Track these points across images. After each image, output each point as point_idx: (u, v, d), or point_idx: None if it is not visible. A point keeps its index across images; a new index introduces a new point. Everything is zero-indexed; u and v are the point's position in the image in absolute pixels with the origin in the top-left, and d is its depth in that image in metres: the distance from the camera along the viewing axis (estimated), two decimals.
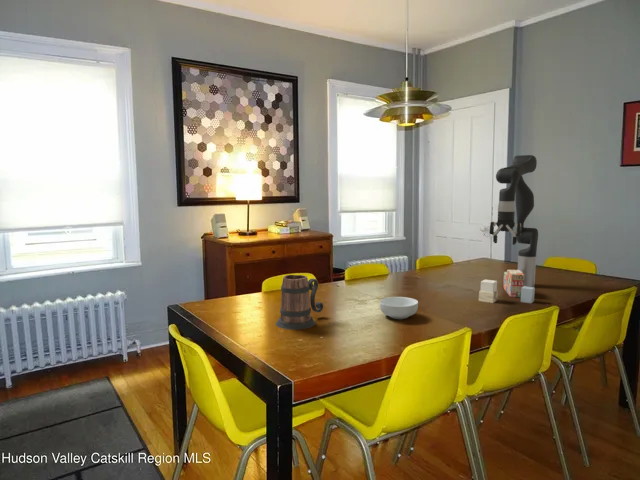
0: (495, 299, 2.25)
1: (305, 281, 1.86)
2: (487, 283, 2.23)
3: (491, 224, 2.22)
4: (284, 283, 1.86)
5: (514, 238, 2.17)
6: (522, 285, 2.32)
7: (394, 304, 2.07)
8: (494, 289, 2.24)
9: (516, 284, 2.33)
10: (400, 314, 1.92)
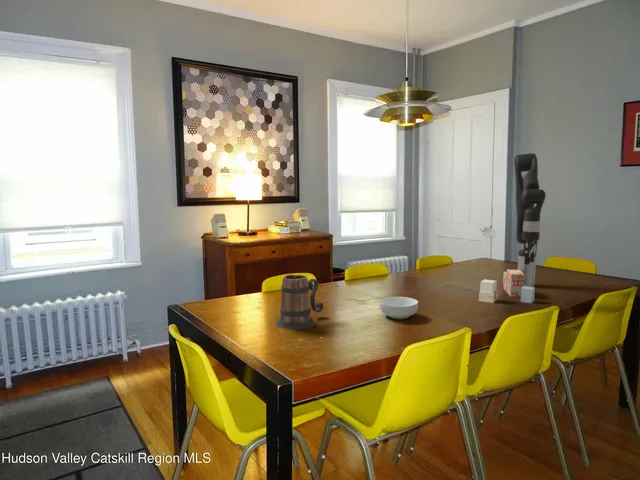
0: (495, 299, 2.25)
1: (305, 281, 1.86)
2: (487, 283, 2.24)
3: (529, 246, 2.16)
4: (284, 283, 1.86)
5: None
6: (522, 285, 2.32)
7: (394, 304, 2.07)
8: (494, 289, 2.24)
9: (516, 284, 2.33)
10: (400, 314, 1.92)
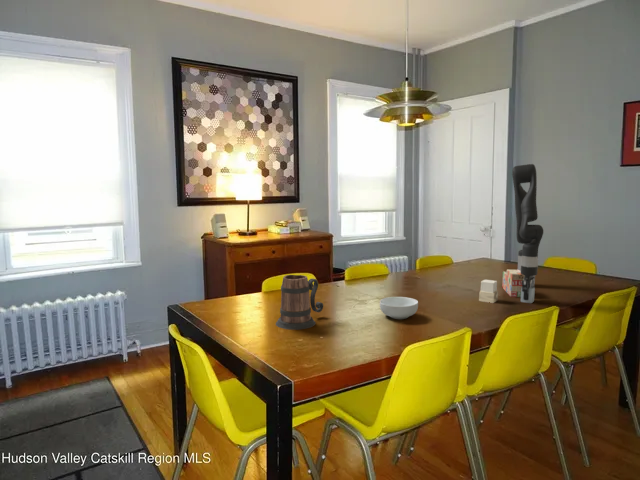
0: (495, 299, 2.25)
1: (305, 281, 1.86)
2: (487, 283, 2.23)
3: (527, 283, 2.18)
4: (284, 283, 1.86)
5: None
6: None
7: (394, 304, 2.07)
8: (494, 289, 2.24)
9: (516, 284, 2.33)
10: (400, 314, 1.92)
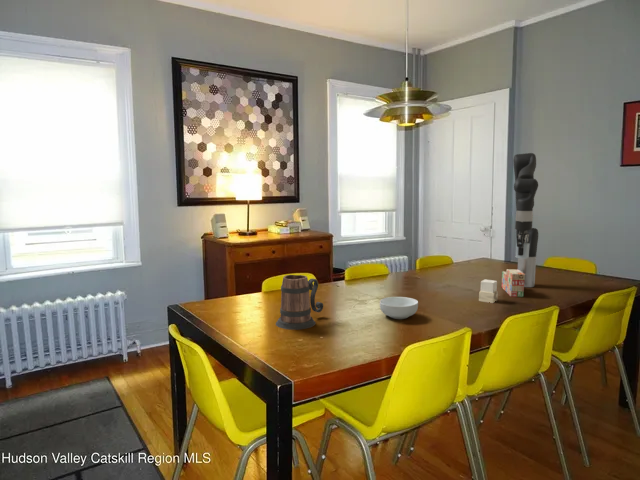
0: (495, 299, 2.25)
1: (305, 281, 1.86)
2: (487, 283, 2.24)
3: (522, 237, 2.16)
4: (284, 283, 1.86)
5: None
6: (522, 285, 2.33)
7: (394, 304, 2.07)
8: (494, 289, 2.24)
9: (516, 284, 2.34)
10: (400, 314, 1.92)
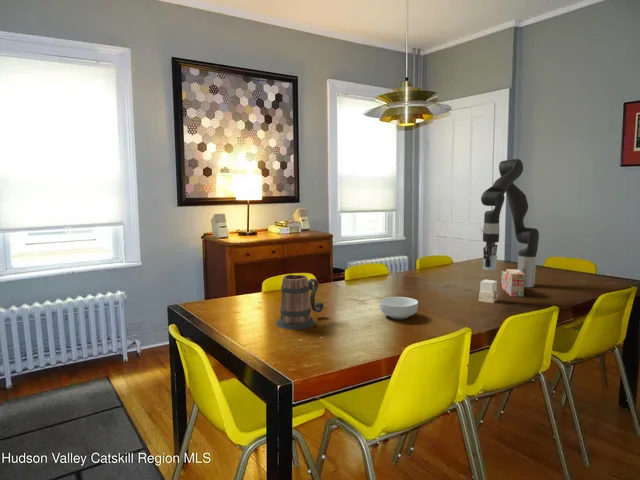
0: (495, 299, 2.25)
1: (305, 281, 1.86)
2: (487, 283, 2.23)
3: (488, 249, 2.18)
4: (284, 283, 1.86)
5: None
6: (522, 284, 2.33)
7: (394, 304, 2.07)
8: (494, 289, 2.24)
9: (516, 284, 2.34)
10: (400, 314, 1.92)
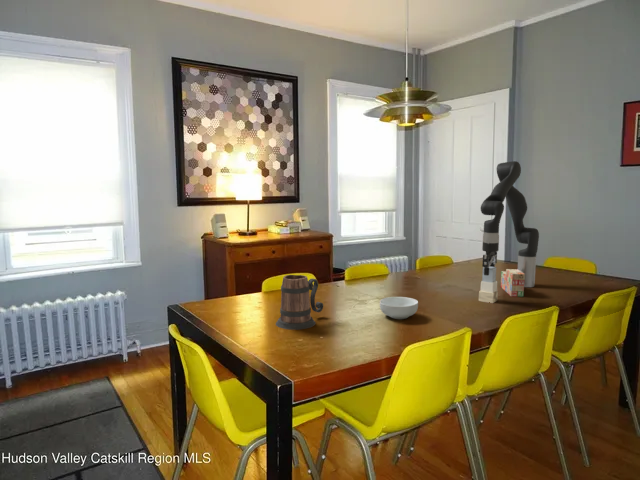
0: (495, 299, 2.25)
1: (305, 281, 1.86)
2: (487, 283, 2.24)
3: (488, 257, 2.19)
4: (284, 283, 1.86)
5: None
6: (522, 284, 2.34)
7: (394, 304, 2.07)
8: (494, 289, 2.24)
9: (517, 284, 2.34)
10: (400, 314, 1.92)
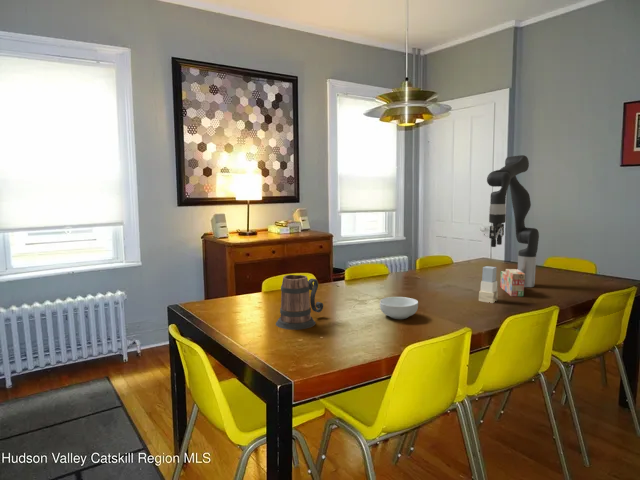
0: (495, 299, 2.25)
1: (305, 281, 1.86)
2: (487, 283, 2.24)
3: (495, 228, 2.17)
4: (284, 283, 1.86)
5: None
6: (522, 284, 2.34)
7: (394, 304, 2.07)
8: (494, 289, 2.24)
9: (517, 284, 2.34)
10: (400, 314, 1.92)
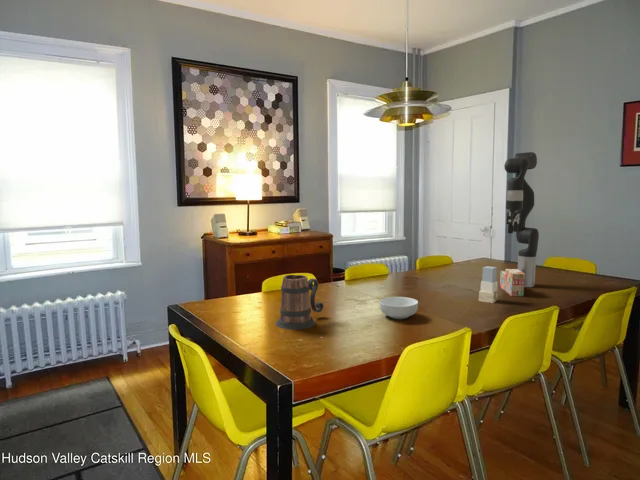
0: (495, 299, 2.25)
1: (305, 281, 1.86)
2: (487, 283, 2.24)
3: (512, 214, 2.17)
4: (284, 283, 1.86)
5: None
6: (522, 284, 2.34)
7: (394, 304, 2.07)
8: (494, 289, 2.24)
9: (517, 284, 2.35)
10: (400, 314, 1.92)
